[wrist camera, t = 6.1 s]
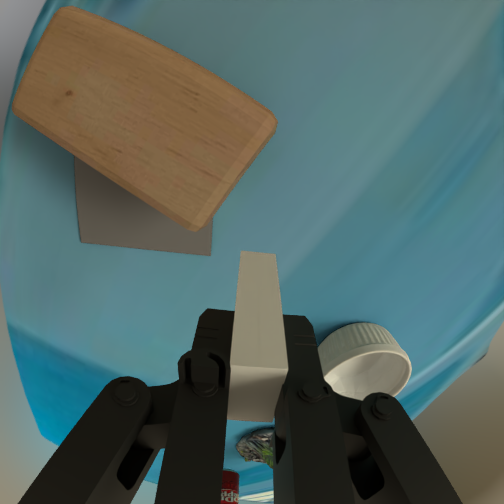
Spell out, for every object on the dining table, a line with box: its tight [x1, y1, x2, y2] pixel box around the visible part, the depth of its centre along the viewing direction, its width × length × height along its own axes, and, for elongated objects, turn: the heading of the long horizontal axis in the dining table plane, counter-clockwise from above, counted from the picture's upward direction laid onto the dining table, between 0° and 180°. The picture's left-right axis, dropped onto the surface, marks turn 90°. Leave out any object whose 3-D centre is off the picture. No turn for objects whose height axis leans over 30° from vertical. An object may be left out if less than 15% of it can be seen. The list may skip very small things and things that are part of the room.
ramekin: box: [318, 323, 412, 400], centre depth 36 cm, size 13×13×7 cm
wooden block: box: [12, 6, 278, 232], centre depth 21 cm, size 10×10×20 cm
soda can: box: [221, 469, 239, 504], centre depth 54 cm, size 7×7×12 cm
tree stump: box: [236, 428, 275, 469], centre depth 45 cm, size 18×20×18 cm
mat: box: [74, 155, 213, 256], centre depth 29 cm, size 16×16×1 cm
